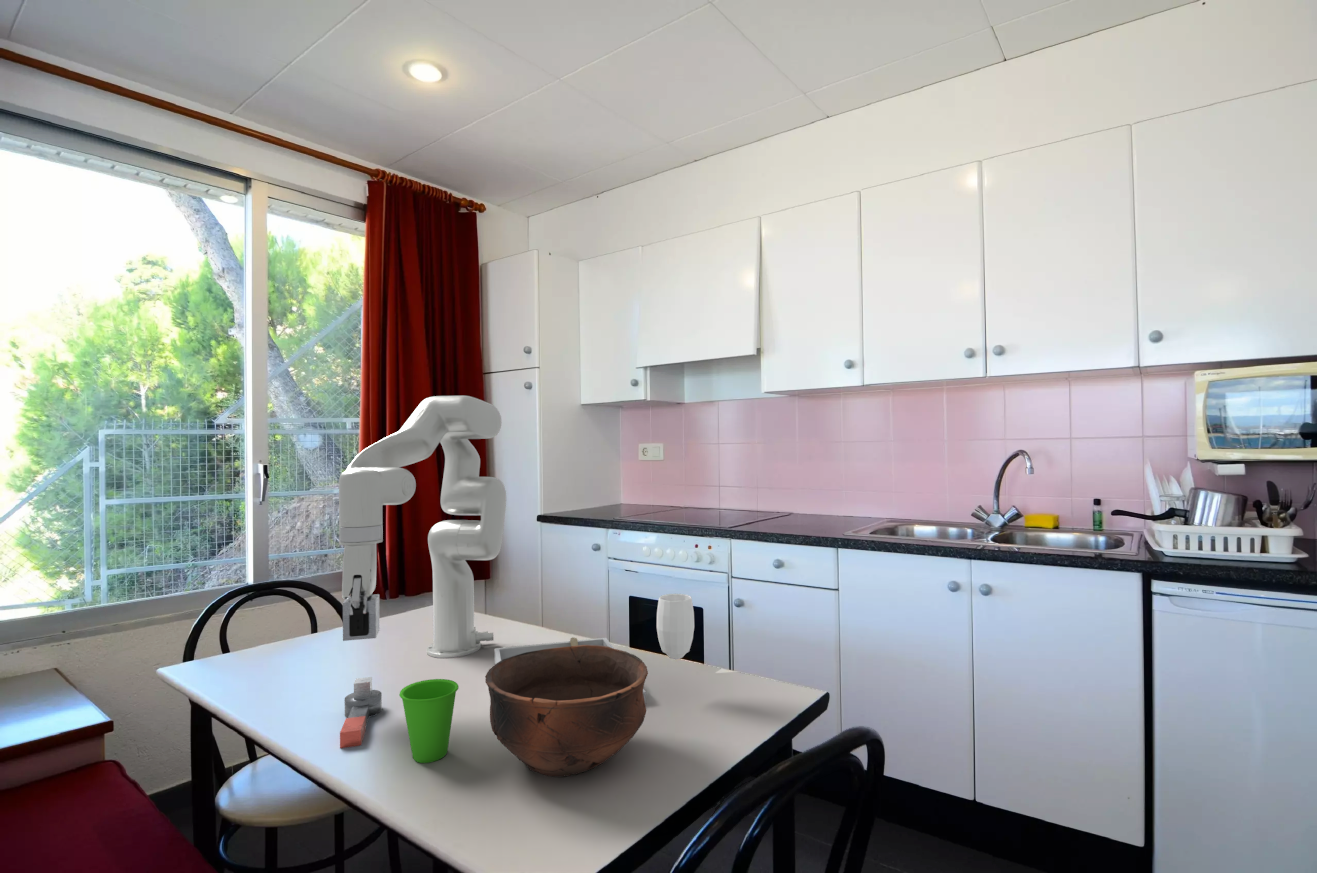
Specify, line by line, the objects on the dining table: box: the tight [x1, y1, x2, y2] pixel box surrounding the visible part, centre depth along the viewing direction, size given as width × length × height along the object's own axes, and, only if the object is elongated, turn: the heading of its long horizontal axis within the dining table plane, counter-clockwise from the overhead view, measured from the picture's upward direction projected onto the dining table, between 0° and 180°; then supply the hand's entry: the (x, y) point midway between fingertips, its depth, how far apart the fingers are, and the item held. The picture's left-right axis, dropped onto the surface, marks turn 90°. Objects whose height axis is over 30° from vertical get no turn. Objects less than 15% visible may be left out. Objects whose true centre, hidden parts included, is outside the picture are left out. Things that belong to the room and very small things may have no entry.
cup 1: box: [399, 678, 460, 764], centre depth 108 cm, size 9×9×11 cm
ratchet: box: [339, 676, 383, 749], centre depth 120 cm, size 18×6×6 cm, turn 16°
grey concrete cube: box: [342, 593, 380, 642], centre depth 126 cm, size 6×6×7 cm
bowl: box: [484, 645, 649, 778], centre depth 105 cm, size 25×25×15 cm
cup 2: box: [656, 593, 695, 660], centre depth 127 cm, size 7×7×21 cm
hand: (361, 630), depth 126 cm, fingers closed on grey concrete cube, 5 cm apart
